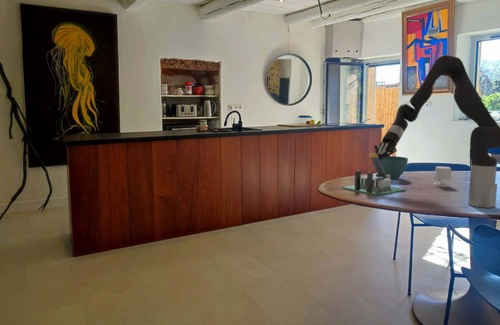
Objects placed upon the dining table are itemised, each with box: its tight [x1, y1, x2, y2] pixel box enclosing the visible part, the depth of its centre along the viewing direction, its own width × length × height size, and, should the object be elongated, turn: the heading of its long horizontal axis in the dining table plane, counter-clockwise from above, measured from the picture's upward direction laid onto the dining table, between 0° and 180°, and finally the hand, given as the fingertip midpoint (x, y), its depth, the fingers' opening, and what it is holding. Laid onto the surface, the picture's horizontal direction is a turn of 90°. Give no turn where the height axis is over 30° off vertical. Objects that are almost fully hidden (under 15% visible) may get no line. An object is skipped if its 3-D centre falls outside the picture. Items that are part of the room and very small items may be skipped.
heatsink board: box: [341, 170, 407, 197], centre depth 198 cm, size 22×22×10 cm
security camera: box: [432, 166, 452, 188], centre depth 208 cm, size 6×7×10 cm
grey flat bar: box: [368, 152, 386, 178], centre depth 199 cm, size 5×1×16 cm
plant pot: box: [381, 155, 409, 180], centre depth 231 cm, size 18×18×12 cm
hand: (377, 161), depth 198 cm, fingers closed
